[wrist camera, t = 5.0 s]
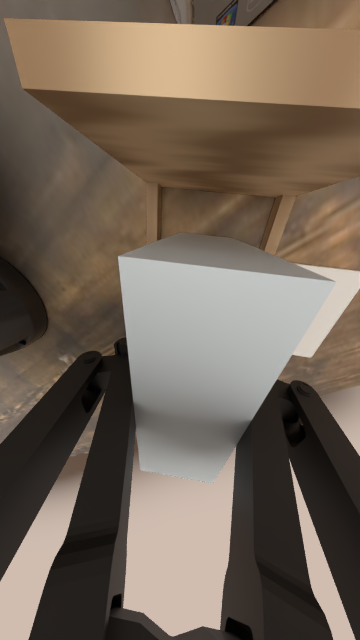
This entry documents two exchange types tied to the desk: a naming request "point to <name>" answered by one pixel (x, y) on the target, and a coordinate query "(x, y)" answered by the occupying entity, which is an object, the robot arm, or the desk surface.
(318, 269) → the mat
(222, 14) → the hard drive box
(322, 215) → the desk surface
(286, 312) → the grey rectangular block
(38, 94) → the rack
